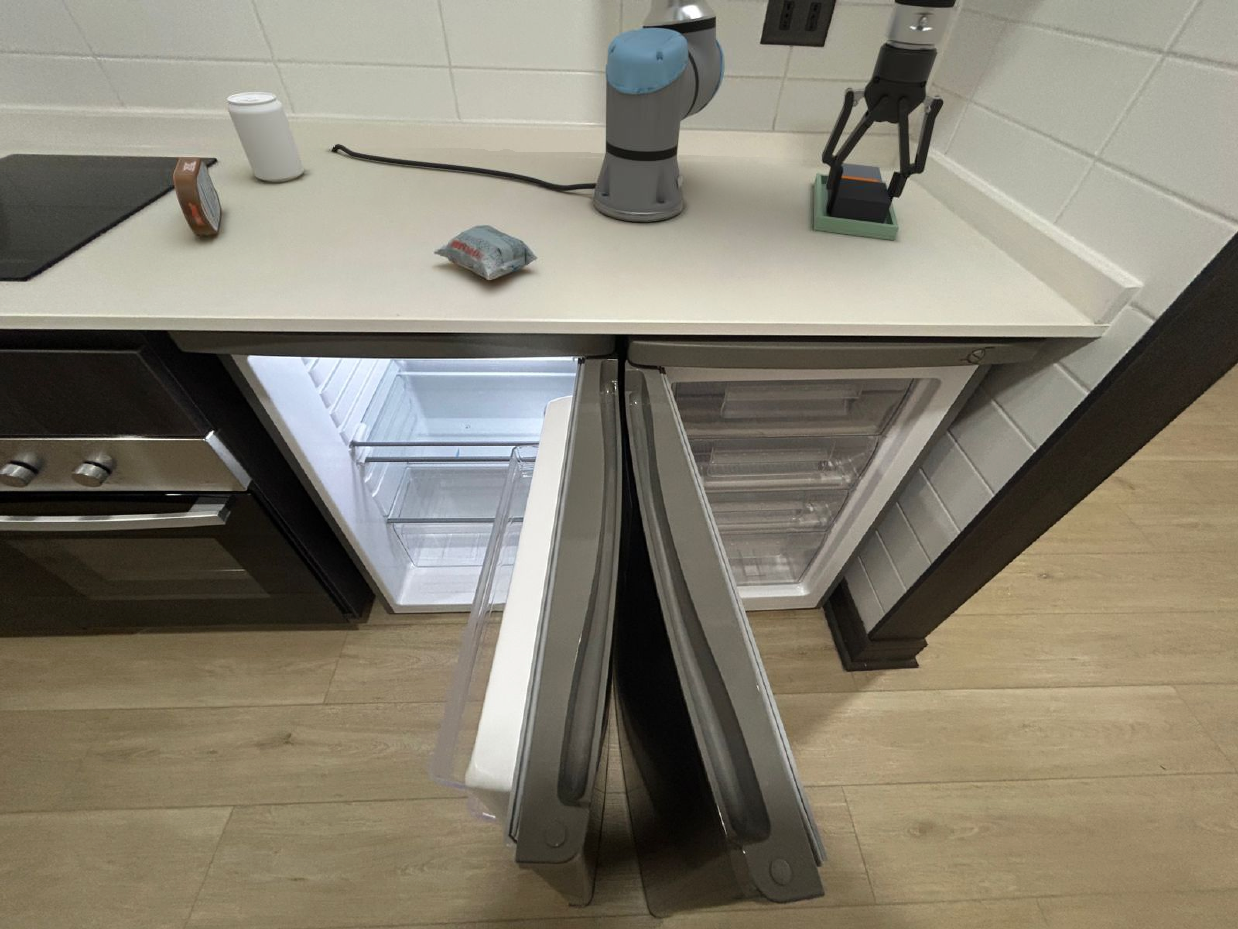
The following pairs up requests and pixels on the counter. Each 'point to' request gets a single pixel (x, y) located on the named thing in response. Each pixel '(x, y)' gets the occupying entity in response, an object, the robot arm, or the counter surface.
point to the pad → (860, 173)
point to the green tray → (847, 225)
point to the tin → (197, 196)
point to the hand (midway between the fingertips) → (855, 212)
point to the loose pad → (861, 201)
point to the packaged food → (487, 252)
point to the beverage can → (265, 136)
